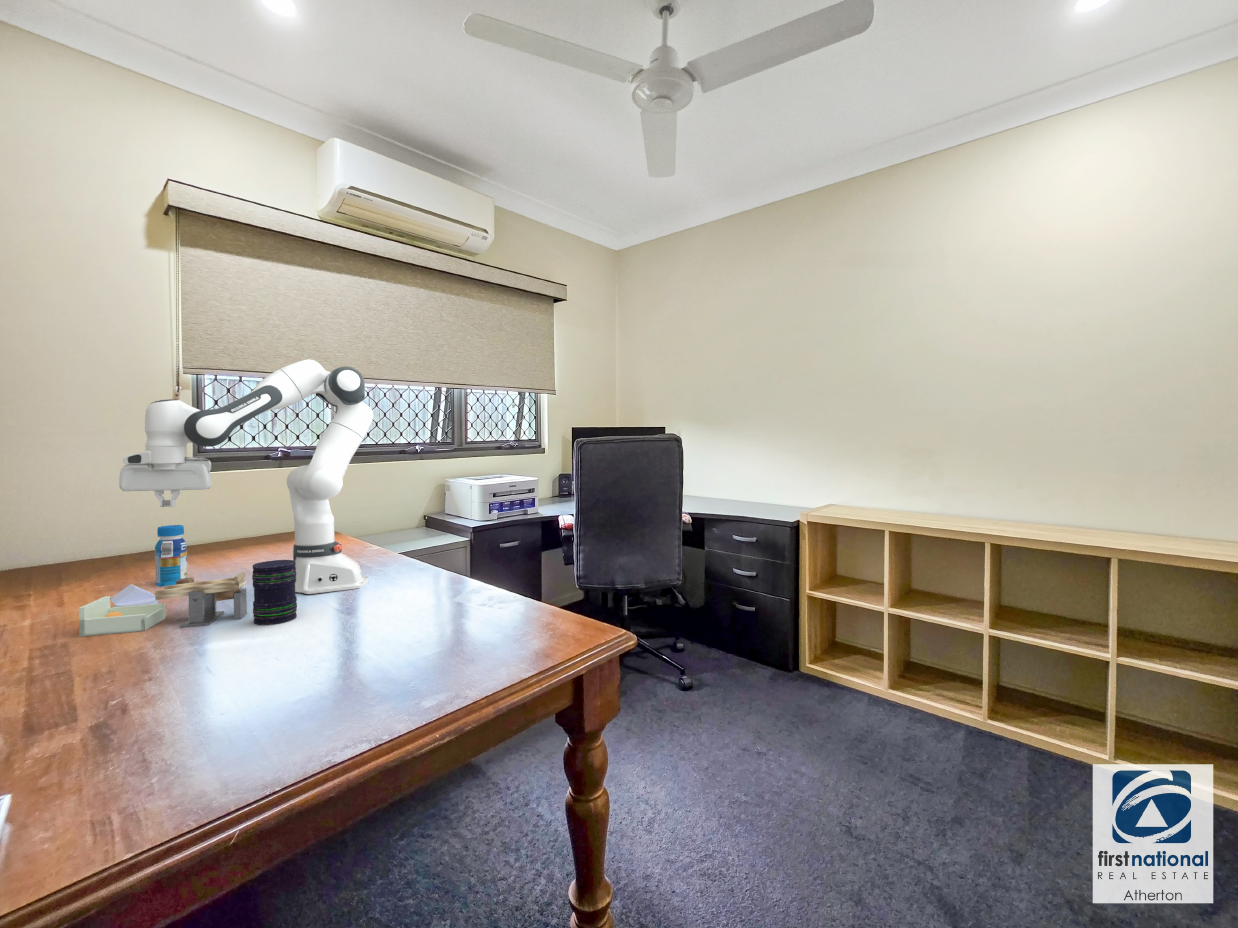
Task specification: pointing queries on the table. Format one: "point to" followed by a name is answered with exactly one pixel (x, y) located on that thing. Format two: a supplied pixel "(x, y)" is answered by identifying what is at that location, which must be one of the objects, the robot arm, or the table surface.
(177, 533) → the beverage bottle
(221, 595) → the lever
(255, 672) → the table surface
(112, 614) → the ball
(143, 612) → the tray
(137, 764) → the table surface
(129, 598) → the wedge on round base
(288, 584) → the dark barrel
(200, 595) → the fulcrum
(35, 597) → the table surface
